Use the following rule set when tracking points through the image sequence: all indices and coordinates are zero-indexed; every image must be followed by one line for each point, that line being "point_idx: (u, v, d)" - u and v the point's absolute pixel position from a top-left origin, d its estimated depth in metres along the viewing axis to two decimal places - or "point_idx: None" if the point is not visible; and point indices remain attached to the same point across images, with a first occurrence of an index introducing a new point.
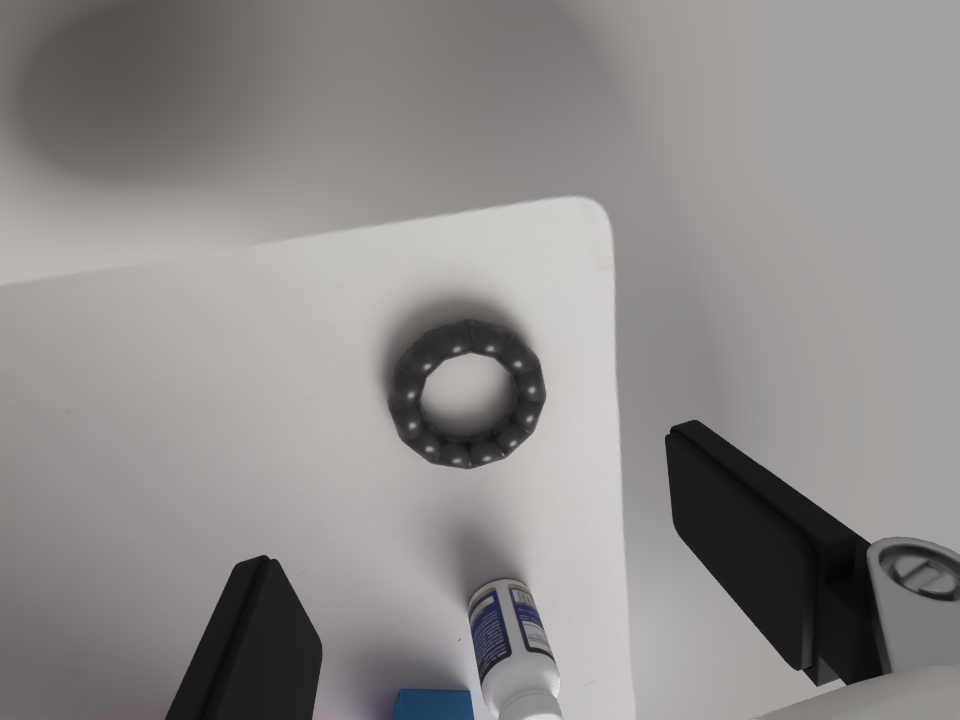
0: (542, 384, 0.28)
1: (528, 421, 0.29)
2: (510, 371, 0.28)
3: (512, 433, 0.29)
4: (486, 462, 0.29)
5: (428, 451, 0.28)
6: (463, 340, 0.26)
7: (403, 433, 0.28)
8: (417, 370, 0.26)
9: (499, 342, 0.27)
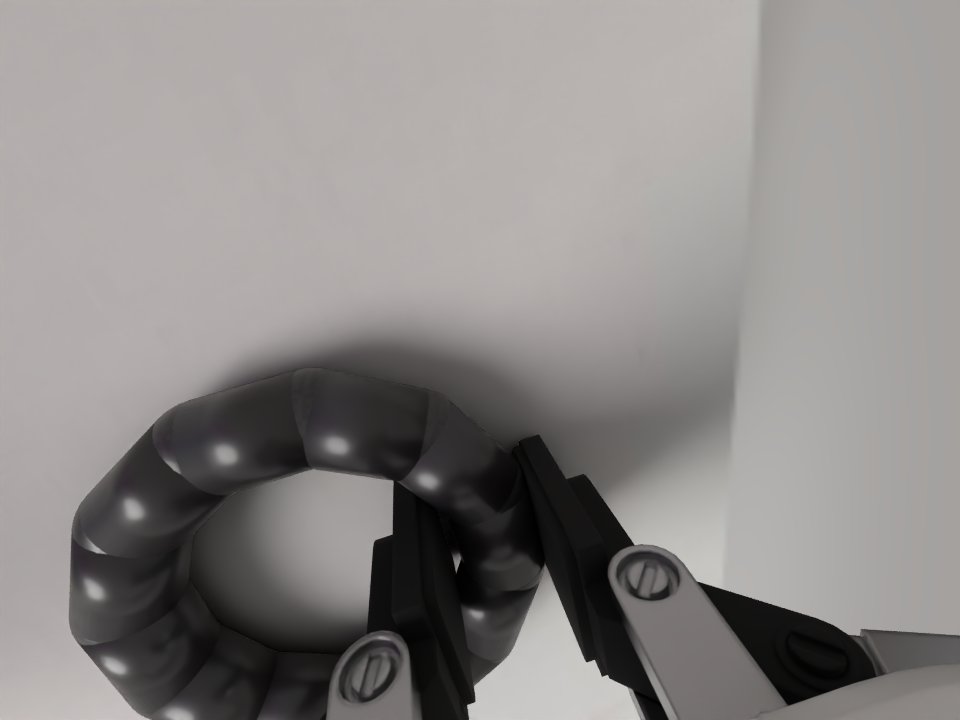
0: None
1: None
2: None
3: (229, 717, 0.10)
4: (109, 677, 0.09)
5: (127, 523, 0.08)
6: (514, 570, 0.10)
7: (196, 436, 0.08)
8: (435, 472, 0.09)
9: (502, 642, 0.11)
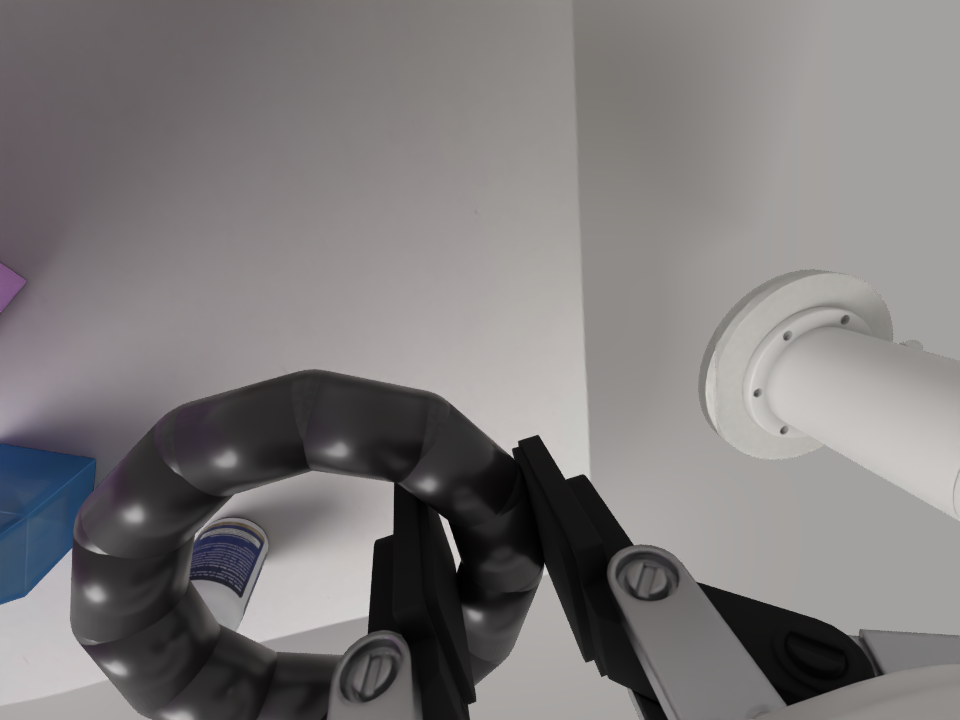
0: None
1: None
2: None
3: (229, 717, 0.10)
4: (110, 677, 0.09)
5: (128, 523, 0.08)
6: (514, 571, 0.10)
7: (196, 437, 0.08)
8: (435, 474, 0.09)
9: (501, 643, 0.11)
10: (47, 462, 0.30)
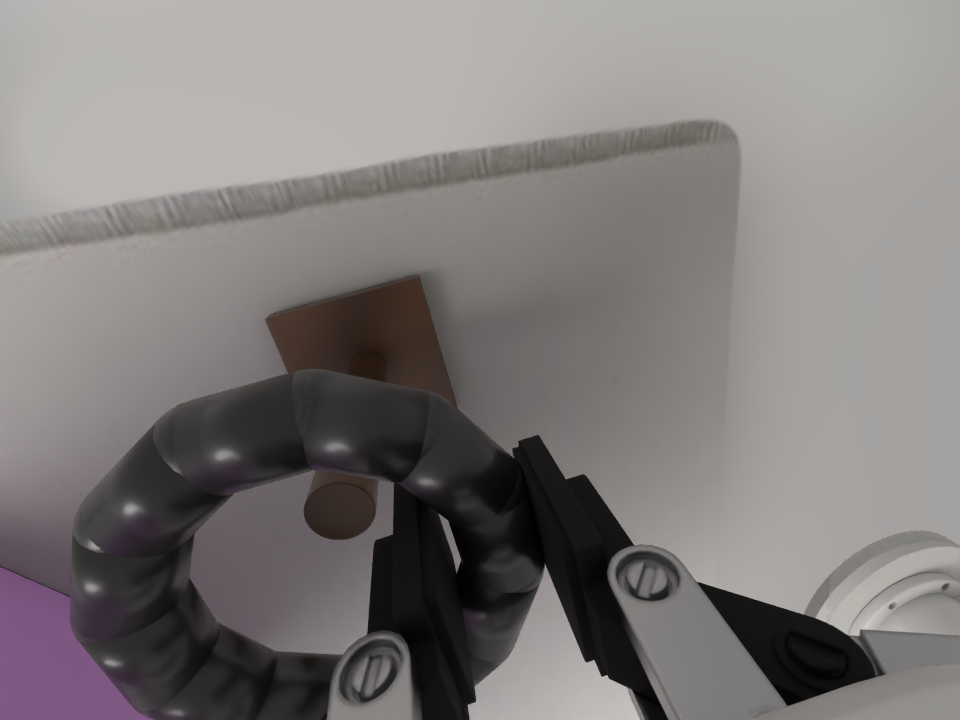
0: None
1: None
2: None
3: (229, 716, 0.10)
4: (109, 676, 0.09)
5: (127, 522, 0.08)
6: (514, 572, 0.10)
7: (196, 437, 0.08)
8: (435, 474, 0.09)
9: (501, 644, 0.11)
10: None
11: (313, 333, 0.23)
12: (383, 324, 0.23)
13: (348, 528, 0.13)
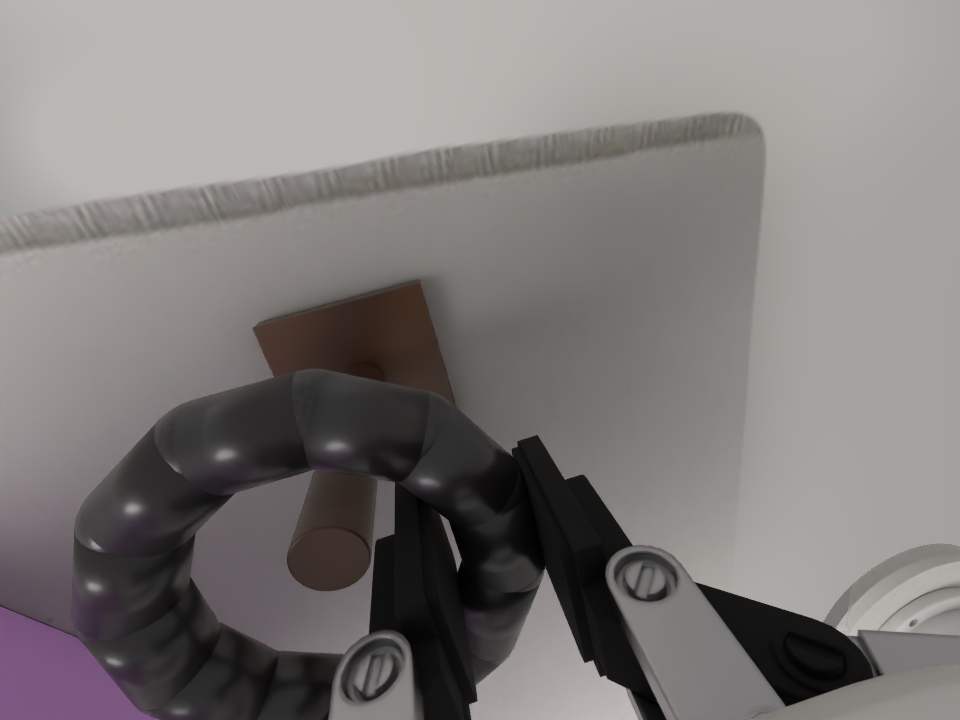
0: None
1: None
2: None
3: (230, 715, 0.10)
4: (111, 675, 0.09)
5: (129, 522, 0.08)
6: (514, 571, 0.10)
7: (197, 436, 0.08)
8: (435, 474, 0.09)
9: (502, 643, 0.11)
10: None
11: (305, 343, 0.21)
12: (381, 333, 0.21)
13: (339, 578, 0.11)
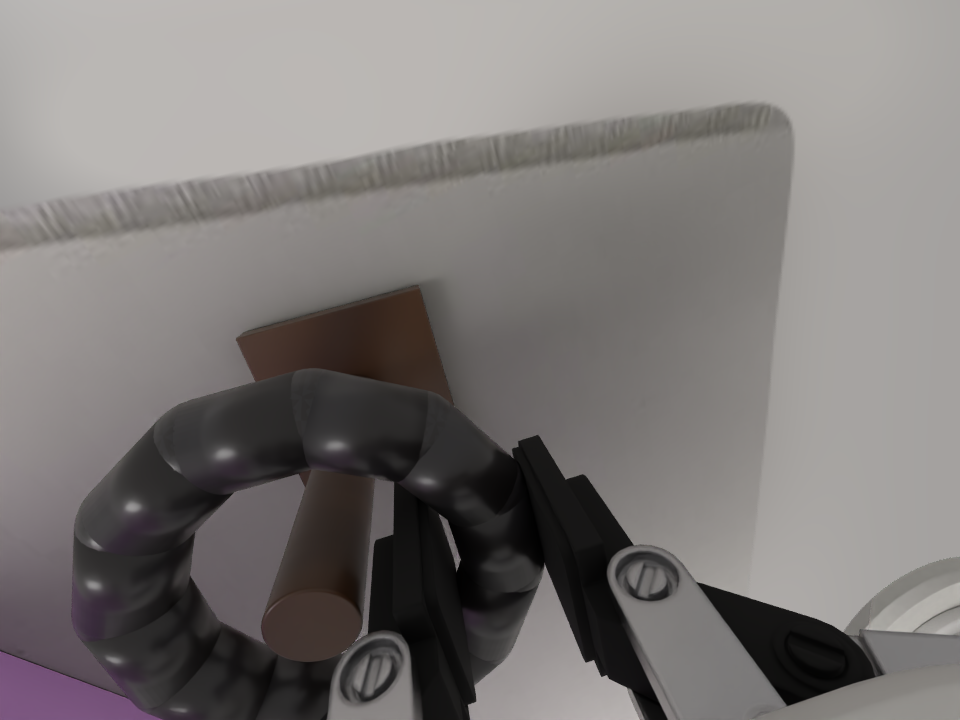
0: None
1: None
2: None
3: (229, 714, 0.10)
4: (110, 673, 0.09)
5: (128, 521, 0.08)
6: (513, 571, 0.10)
7: (196, 436, 0.08)
8: (434, 474, 0.09)
9: (501, 643, 0.11)
10: None
11: (294, 355, 0.19)
12: (377, 343, 0.20)
13: (324, 647, 0.09)
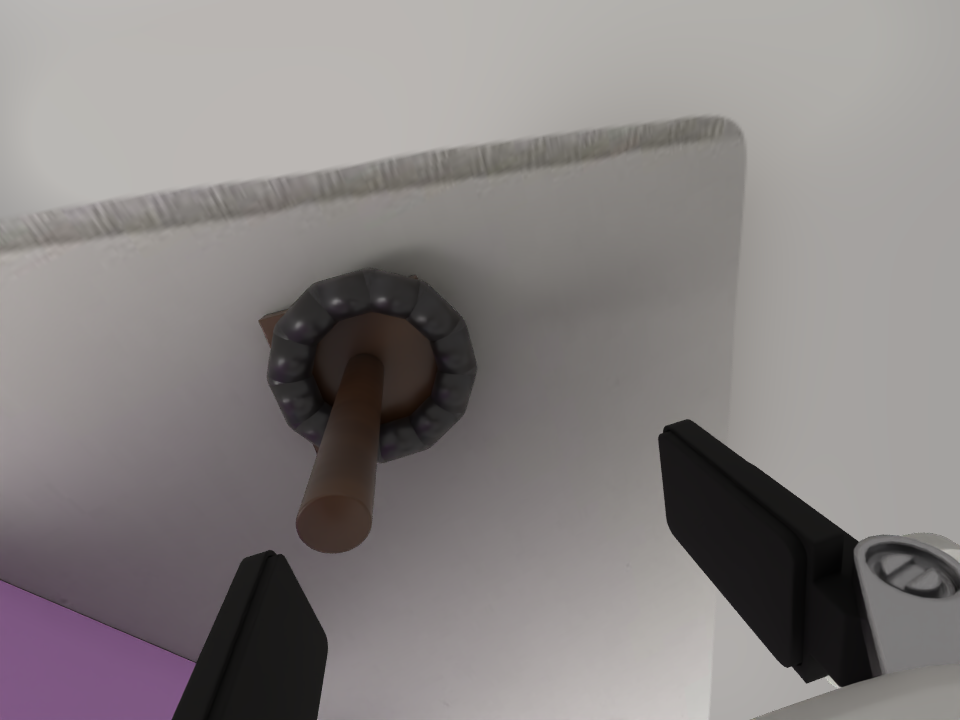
0: (400, 457, 0.23)
1: None
2: (416, 418, 0.23)
3: None
4: (283, 404, 0.21)
5: (299, 326, 0.20)
6: (460, 364, 0.22)
7: (327, 291, 0.20)
8: (422, 311, 0.21)
9: (456, 404, 0.23)
10: None
11: None
12: (380, 325, 0.23)
13: (343, 541, 0.12)
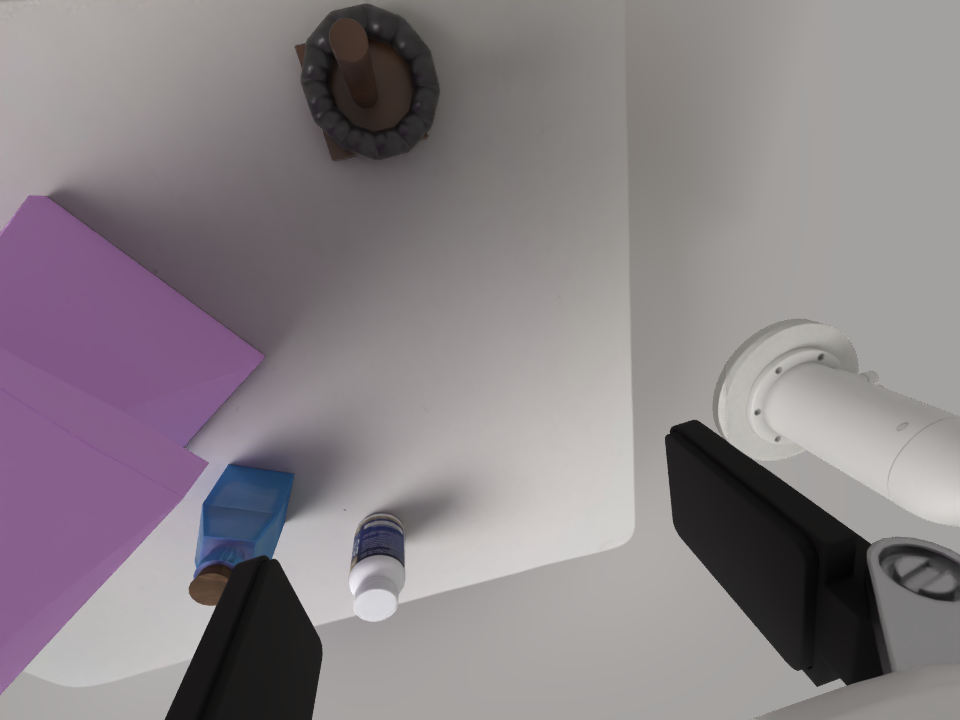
0: (388, 152, 0.35)
1: (355, 138, 0.34)
2: (398, 123, 0.34)
3: (342, 123, 0.33)
4: (311, 97, 0.32)
5: (323, 36, 0.31)
6: (427, 78, 0.33)
7: (340, 13, 0.31)
8: (401, 32, 0.32)
9: (425, 110, 0.34)
10: (268, 477, 0.43)
11: None
12: (374, 58, 0.34)
13: (352, 53, 0.24)
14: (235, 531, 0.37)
